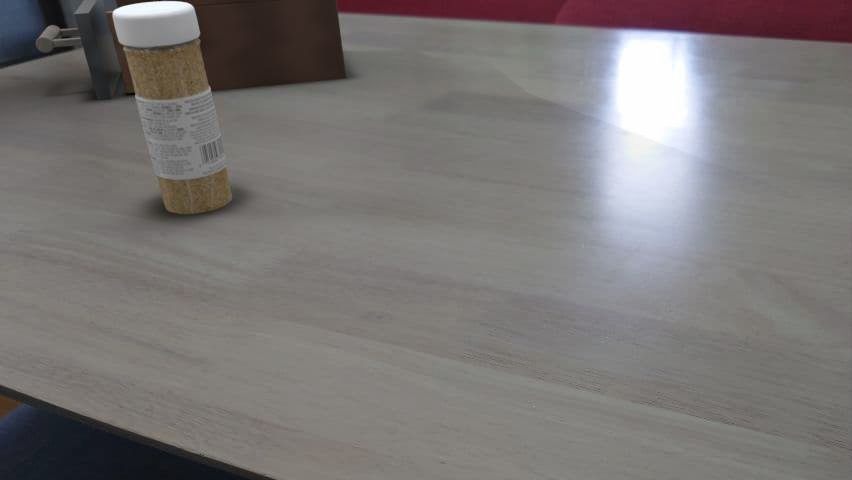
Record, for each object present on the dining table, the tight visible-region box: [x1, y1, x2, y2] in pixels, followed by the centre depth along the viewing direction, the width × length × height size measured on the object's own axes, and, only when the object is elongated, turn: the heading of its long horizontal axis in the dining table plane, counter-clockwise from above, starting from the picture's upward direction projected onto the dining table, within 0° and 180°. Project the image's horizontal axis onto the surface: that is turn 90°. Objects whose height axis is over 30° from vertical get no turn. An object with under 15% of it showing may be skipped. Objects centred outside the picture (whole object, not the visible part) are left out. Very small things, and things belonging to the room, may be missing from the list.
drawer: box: [35, 0, 171, 101], centre depth 80 cm, size 18×11×8 cm, turn 110°
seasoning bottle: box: [112, 1, 233, 215], centre depth 52 cm, size 5×5×14 cm
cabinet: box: [171, 0, 347, 92], centre depth 83 cm, size 15×13×10 cm
